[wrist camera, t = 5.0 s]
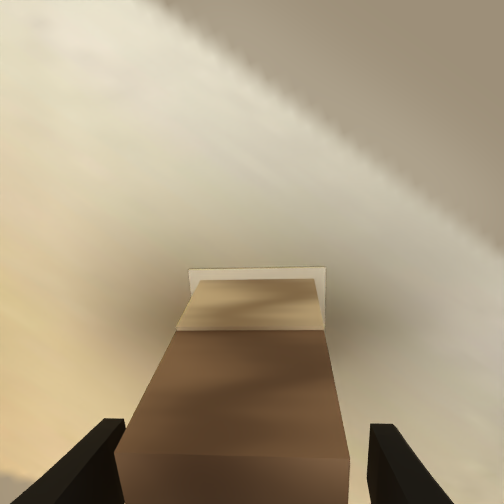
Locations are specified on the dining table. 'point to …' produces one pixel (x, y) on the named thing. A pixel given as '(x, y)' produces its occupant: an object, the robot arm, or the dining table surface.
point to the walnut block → (238, 423)
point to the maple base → (253, 305)
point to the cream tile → (264, 277)
